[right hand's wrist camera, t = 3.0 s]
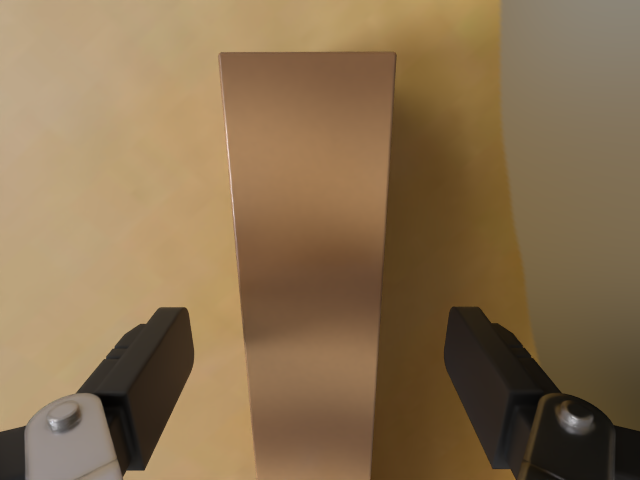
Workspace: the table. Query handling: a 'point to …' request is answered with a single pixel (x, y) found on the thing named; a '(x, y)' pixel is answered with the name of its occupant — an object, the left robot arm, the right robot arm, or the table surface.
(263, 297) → the bar
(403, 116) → the table surface
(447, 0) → the table surface
